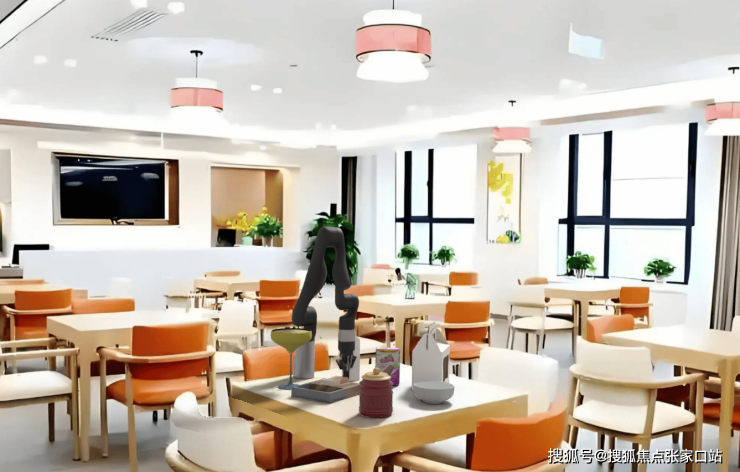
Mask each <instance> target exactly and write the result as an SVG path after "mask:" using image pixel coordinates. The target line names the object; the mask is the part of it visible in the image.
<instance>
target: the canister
mask: <svg viewBox="0 0 740 472" xmlns="http://www.w3.org/2000/svg"><path fill="white" fill-rule="evenodd" d="M361 379H362V380H359V384H360V386H361V388H360V391H359V393H360V394H358V395H359V402H358V403H359V404H358V412H359V415H360V416H363V417H365V418H374V419H381V418H382V419H383V418H389V417H391V416H392V415H393V412H394V407H393V401H394V400H393V398H394V397H393V396H394V395H393V394H394V391H393V386H394V385H393V382H392V381H390V379H391V376H389V375H388V374H387V373H384V372H380V370H379V368H375V367H374V368H373V369H372V371H369V372H366V373H364V374H363V375H361Z"/></svg>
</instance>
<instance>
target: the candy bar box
mask: <svg viewBox="0 0 740 472" xmlns="http://www.w3.org/2000/svg"><path fill="white" fill-rule="evenodd" d="M401 350H402V349H401V348H399V347H378V346H377V347H376V348H375V361H374V362H375V364H374V365H375V366H374V368H379V370H380V372H384V373H387V374H388V375H389V376H391V379H390V381H392V382H393V385H392V386H400V383H401Z"/></svg>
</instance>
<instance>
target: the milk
mask: <svg viewBox="0 0 740 472" xmlns="http://www.w3.org/2000/svg"><path fill="white" fill-rule="evenodd" d="M353 355H354V356H356V357H357V358H356V360H355V363H354V365H353V368H351V369H350V370H349V379H348V382H355V381H361V379H360V375H361V374H360V370H361V366H360V365H361V364H360V363H361V339H360V338H359V337H357V333H356V332H355V350H354V351H353ZM341 376H342V377H343V370H341Z"/></svg>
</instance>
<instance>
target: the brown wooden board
mask: <svg viewBox="0 0 740 472" xmlns="http://www.w3.org/2000/svg"><path fill="white" fill-rule="evenodd" d="M327 378H328V377H326V378H325V377H324V378H321V379H317V380H313V381H312V380H311V381H309V382H308V383H310V389H311V390H317V391H323V392H329V393H330V392H333V391H337V390H340V389H343V388H344V389H346V399H348V398H351V397H355V396H357V395H360V393H359V391H360V388H361V386H360V384H359V383H358V382H354V381H351V382H350V381H348V382H347V383H343V384H340V385H336V386H329V385H323V384H322V380H323V379H327Z"/></svg>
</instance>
